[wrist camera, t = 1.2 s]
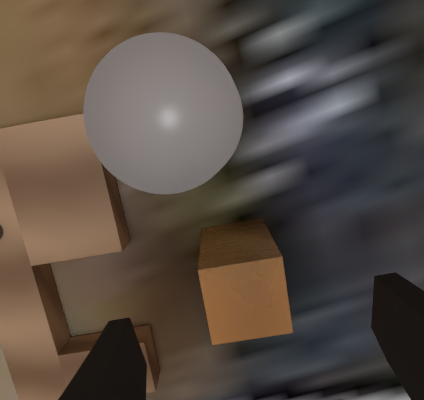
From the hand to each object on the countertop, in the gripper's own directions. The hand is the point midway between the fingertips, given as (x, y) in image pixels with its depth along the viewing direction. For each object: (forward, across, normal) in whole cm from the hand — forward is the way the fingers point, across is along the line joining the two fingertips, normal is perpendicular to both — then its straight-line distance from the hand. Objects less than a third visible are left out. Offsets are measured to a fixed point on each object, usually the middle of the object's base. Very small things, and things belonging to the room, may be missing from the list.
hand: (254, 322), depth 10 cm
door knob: (+11, +2, -4) cm, 12 cm away
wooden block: (+9, 0, +4) cm, 10 cm away
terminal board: (+10, +10, +3) cm, 14 cm away
